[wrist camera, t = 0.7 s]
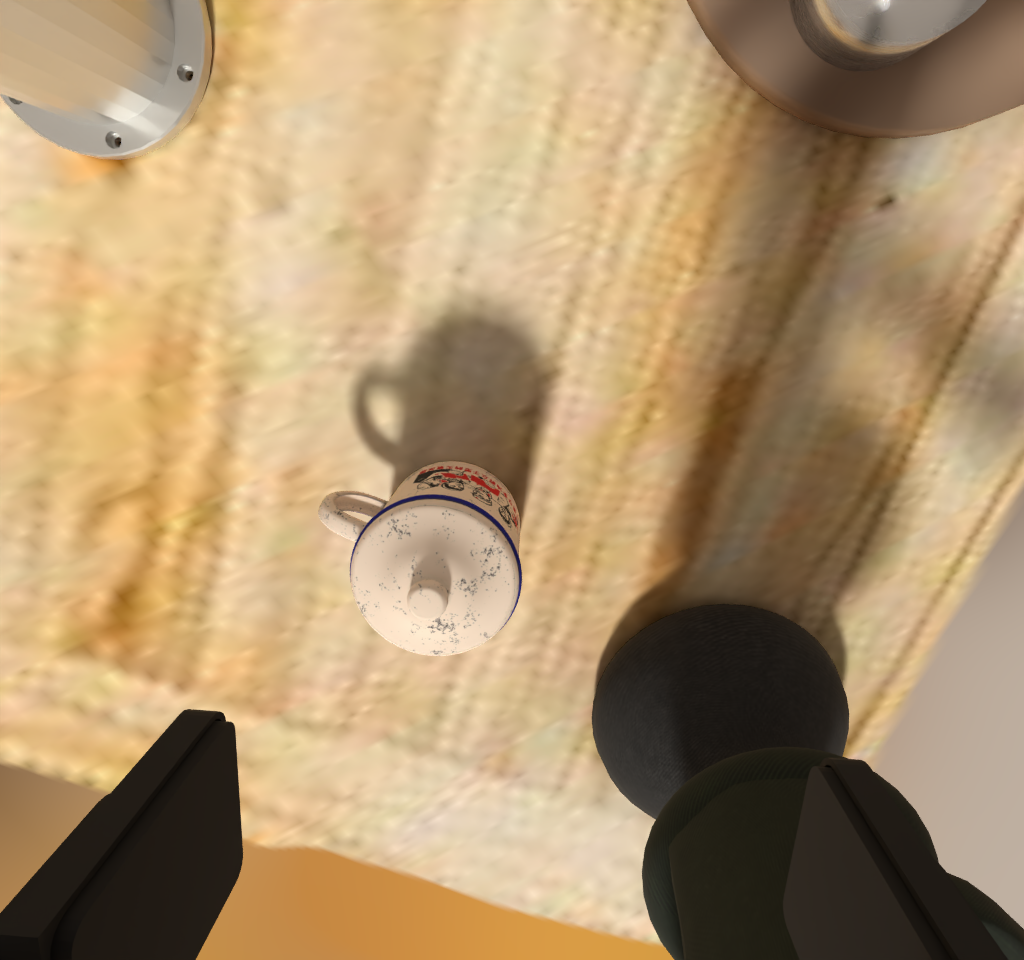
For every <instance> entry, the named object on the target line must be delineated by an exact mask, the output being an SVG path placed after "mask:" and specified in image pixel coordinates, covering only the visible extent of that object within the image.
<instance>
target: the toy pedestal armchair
mask: <svg viewBox="0 0 1024 960" xmlns="http://www.w3.org/2000/svg"><path fill="white" fill-rule="evenodd" d="M592 726H593V736H594V739H595V743H596V747H597V750H598V753H599V755H600V757H601V759H602V761H603V763H604V765H605V767H606V769H607V772H608V774H609V776H610V778H611V779H612V781H613V782H614V783H615V785H616V786H617V788H618V789H619V790H620V792H621V793H622V794H623V795H624V796H625V797H626V798H627V799H628V800H629V801H630V802H631V803H632V804H634V805H635V806H637V807H638V808H639V809H641V810H642V811H644V812H645V813H646V814H648V815H650V816H651V817H653V818H654V819H656V821H655V823H654V825H653V826H652V829H651V832H650V835H649V838H648V841H647V844H646V847H645V852H644V860H643V868H642V879H643V893H644V899H645V902H646V906H647V910H648V913H649V917H650V920H651V922H652V924H653V926H654V928H655V930H656V932H657V935H658V937H659V939H660V941H661V942H662V944H663V945H664V947H665V948H666V949H667V951H668V952H669V953H670V955H671V956H672V957H673V958H674V960H800V959H799V957H798V954H797V952H796V949H795V947H794V944H793V941H792V939H791V936H790V934H789V931H788V929H787V926H786V923H785V918H784V911H783V899H784V893H785V888H786V883H787V878H788V873H789V869H790V864H791V859H792V854H793V849H794V844H795V839H796V835H797V830H798V825H799V820H800V815H801V810H802V805H803V801H804V796H805V791H806V786H807V781H808V776H809V772H810V770H811V768H812V767H814V766H819V767H820V764H821V762H822V760H823V759H824V758H841V759H847V758H845V757H842V756H843V752H844V748H845V744H846V740H847V735H848V730H849V709H848V703H847V696H846V694H845V691H844V688H843V685H842V682H841V680H840V677H839V675H838V672H837V669H836V667H835V665H834V663H833V662H832V660H831V658H830V657H829V655H828V653H827V652H826V650H825V649H824V648H823V647H822V646H821V645H820V643H819V642H818V641H817V640H816V639H815V638H814V637H813V636H812V635H810V634H809V633H808V632H807V631H806V630H804V629H803V628H802V627H801V626H799V625H797V624H796V623H794V622H792V621H790V620H788V619H787V618H785V617H783V616H780V615H778V614H775V613H772V612H770V611H767V610H764V609H759V608H755V607H750V606H745V605H729V604H720V605H708V606H700V607H696V608H692V609H687V610H683V611H680V612H677V613H675V614H672V615H669V616H667V617H664V618H662V619H660V620H658V621H657V622H655V623H653V624H651V625H649V626H648V627H646V628H644V629H643V630H642V631H640V632H639V633H638V634H637V635H635V636H634V637H633V638H631V639H630V640H629V641H628V642H627V643H626V644H625V645H624V646H623V647H622V648H621V649H620V650H619V651H618V652H617V653H616V655H615V656H614V658H613V659H612V660H611V662H610V663H609V665H608V666H607V668H606V669H605V671H604V673H603V676H602V678H601V680H600V682H599V684H598V687H597V690H596V694H595V698H594V701H593V711H592ZM874 774H875V775H876V777H877V778H878V779H879V781H880V782H881V784H882V785H883V786H884V788H885V789H886V791H887V792H888V794H889V795H890V796H891V798H892V799H893V801H894V802H895V804H896V805H897V806H898V808H899V809H900V811H901V812H902V813H903V815H904V816H905V818H906V819H907V821H908V822H909V823H910V825H911V826H912V828H913V829H914V831H915V832H916V833H917V835H918V836H919V838H920V839H921V840H922V842H923V843H924V845H925V846H926V848H927V849H928V850H929V852H930V853H931V855H932V856H933V858H934V859H935V860H936V861H937V862H938V857H937V854H936V851H935V848H934V845H933V843H932V840H931V837H930V834H929V832H928V830H927V829H926V827H925V825H924V824H923V822H922V821H921V819H920V817H919V815H918V814H917V812H916V810H915V809H914V808H913V807H912V806H911V804H910V803H909V802H908V801H907V800H906V799H905V798H904V797H903V795H902V794H901V793H900V792H899V791H898V790H897V789H896V788H895V787H893V786H892V785H891V784H890V783H888V782H887V781H886V780H884V779H883V778H882V777H881V776H879V775H878V774H877V773H875V772H874ZM947 874H948V875H949V877H950V878H951V879H952V881H953V882H954V884H955V885H956V887H957V888H958V889H959V891H960V892H961V894H962V895H963V896H964V898H965V899H966V901H967V902H968V904H969V905H970V906H971V908H972V909H973V911H974V912H975V913H976V915H977V916H978V918H979V919H980V920H981V922H982V923H983V925H984V926H985V928H986V929H987V930H988V932H989V933H990V935H991V936H992V937H993V939H994V940H995V942H996V943H997V944H998V946H999V947H1000V949H1001V950H1002V952H1003V953H1004V954H1005V956H1006V957H1007V959H1008V960H1024V929H1023V928H1022V927H1021V926H1020V925H1019V924H1018V923H1016V921H1014V920H1013V919H1012V918H1011V917H1010V916H1009V915H1008V914H1007V913H1006V912H1005V911H1004V910H1003V909H1002V908H1001V907H1000V906H999V905H998V904H997V903H996V902H994V901H993V900H992V899H991V898H989V897H988V896H987V895H985V894H984V893H983V892H981V891H980V890H979V889H977V888H976V887H975V886H973V885H972V884H970V883H969V882H968V881H966V880H963V879H961V878H959V877H956V876H954V875H951V874H949V873H947Z"/></svg>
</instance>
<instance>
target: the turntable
mask: <svg viewBox="0 0 1024 960" xmlns="http://www.w3.org/2000/svg"><path fill="white" fill-rule="evenodd" d="M687 1H688V4H689V6H690V8H691V9H692V11H693V13H694V15H695V17H696V18H697V20H698V22H699V24H700V26H701V28H702V29H703V31H704V33H705V35H706V36H707V38H708V39H709V40H710V42H711V43H712V44H713V46H714V47H715V48H716V50H717V51H718V53H719V54H720V55H721V57H722V58H723V59H724V61H725V62H726V63H727V64H728V65H729V66H730V67H731V68H732V69H733V70H734V71H735V72H736V73H737V74H738V75H739V76H740V77H741V78H742V79H743V80H744V81H745V82H746V83H747V84H748V85H749V86H750V87H751V88H752V89H754V90H755V91H756V92H758V93H759V94H760V95H762V96H763V97H764V98H766V99H767V100H768V101H770V102H771V103H772V104H774V105H775V106H777V107H779V108H781V109H783V110H784V111H786V112H788V113H790V114H792V115H794V116H796V117H798V118H799V119H801V120H803V121H806V122H809V123H812V124H815V125H817V126H820V127H823V128H826V129H829V130H831V131H836V132H841V133H846V134H851V135H856V136H862V137H876V138H906V137H916V136H926V135H933V134H937V133H941V132H945V131H950V130H954V129H958V128H962V127H965V126H968V125H971V124H973V123H976V122H979V121H981V120H984V119H987V118H989V117H992V116H995V115H997V114H1000V113H1002V112H1005V111H1008V110H1010V109H1013V108H1015V107H1018V106H1020V105H1023V104H1024V0H986V2H985V3H984V4H983V5H982V6H981V7H980V8H979V9H978V10H977V11H976V12H975V13H974V14H972V15H971V16H970V17H969V18H968V19H966V20H965V21H964V22H962V23H961V24H959V25H958V26H956V27H955V28H953V29H951V30H950V31H948V32H947V33H945V34H943V35H942V36H940V37H939V38H937V39H936V40H934V41H932V42H931V43H929V44H928V45H926V46H925V47H923V48H921V49H920V50H918V51H917V52H915V53H913V54H912V55H910V56H909V57H907V58H906V59H904V60H902V61H900V62H898V63H896V64H894V65H891V66H889V67H886V68H883V69H878V70H873V71H850V70H846V69H842V68H838V67H836V66H834V65H831V64H829V63H827V62H826V61H824V60H823V59H821V58H820V57H819V56H817V55H816V54H815V53H814V52H813V51H812V50H811V49H810V48H809V47H808V46H807V44H806V43H805V42H804V40H803V39H802V37H801V35H800V34H799V32H798V29H797V27H796V25H795V23H794V19H793V16H792V13H791V8H790V2H789V0H687Z"/></svg>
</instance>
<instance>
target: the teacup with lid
mask: <svg viewBox="0 0 1024 960" xmlns="http://www.w3.org/2000/svg"><path fill="white" fill-rule="evenodd" d="M343 511H353V512H358V513H362V514H365V515H368V516H371V517H373V518H372V519H371V520H370V521H369V522H368V523H366V522H364V521H362V520H359V519H357V518H354V517H352V516H350V515H348V514H346V513H345V512H343ZM318 514H319V518H320V520H321V521H322V523H323V524H324V525H325V526H326V527H327V528H329V529H330V530H331V531H333V532H335V533H336V534H338V535H340V536H342V537H344V538H347V539H349V540H351V541H354V542H356V543H355V546H354V549H353V552H352V556H351V563H350V579H351V586H352V591H353V595H354V598H355V601H356V603H357V606H358V608H359V610H360V611H361V613H362V615H363V616H364V618H365V619H366V621H367V622H368V623H369V624H370V626H371V627H372V628H373V629H374V630H375V631H376V632H377V633H378V634H380V635H381V636H382V637H383V638H385V639H386V640H388V641H389V642H391V643H392V644H394V645H396V646H398V647H400V648H402V649H405V650H407V651H410V652H414V653H417V654H422V655H430V656H447V655H454V654H459V653H463V652H466V651H469V650H471V649H474V648H476V647H478V646H480V645H482V644H483V643H485V642H487V641H488V640H489V639H491V638H492V637H493V636H494V635H495V634H496V633H497V632H499V631H500V630H501V629H502V627H503V626H504V625H505V624H506V623H507V621H508V620H509V618H510V617H511V615H512V613H513V612H514V610H515V607H516V605H517V603H518V599H519V596H520V591H521V584H522V571H521V564H520V559H519V542H520V517H519V512H518V509H517V506H516V503H515V501H514V499H513V497H512V495H511V493H510V492H509V490H508V489H507V488H506V486H505V485H504V484H503V483H502V482H501V481H500V480H499V479H498V478H497V477H495V476H494V475H493V474H491V473H490V472H488V471H486V470H485V469H483V468H481V467H478V466H476V465H473V464H469V463H465V462H458V461H445V462H438V463H434V464H430V465H427V466H425V467H423V468H421V469H419V470H417V471H415V472H414V473H412V474H411V475H410V476H409V477H407V478H406V479H405V480H404V481H403V482H402V483H401V485H400V486H399V487H398V488H397V490H396V491H395V493H394V494H393V495H392V497H391V498H390V500H389V501H385V500H382V499H380V498H377V497H375V496H372V495H369V494H365V493H361V492H355V491H339V492H334V493H331V494H329V495H327V496H326V497H325V498H324V499H323V501H322V503H321V505H320V508H319V512H318Z"/></svg>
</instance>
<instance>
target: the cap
mask: <svg viewBox="0 0 1024 960" xmlns="http://www.w3.org/2000/svg"><path fill="white" fill-rule="evenodd" d="M789 2H790V8H791V13H792V16H793V19H794V23H795V25H796V27H797V29H798V32H799V34H800V35H801V37H802V39H803V40H804V42H805V43H806V44H807V46H808V47H809V48H810V49H811V50H812V51H813V52H814V53H815V54H816V55H817V56H819V57H820V58H821V59H823V60H824V61H826V62H827V63H829V64H831V65H834V66H836V67H838V68H842V69H846V70H850V71H873V70H878V69H883V68H886V67H889V66H891V65H894V64H896V63H898V62H900V61H902V60H904V59H906V58H907V57H909V56H910V55H912V54H913V53H915V52H917V51H918V50H920V49H921V48H923V47H925V46H926V45H928V44H929V43H931V42H932V41H934V40H936V39H937V38H939V37H940V36H942V35H943V34H945V33H947V32H948V31H950V30H951V29H953V28H955V27H956V26H958V25H959V24H961V23H962V22H964V21H965V20H966V19H968V18H969V17H970V16H971V15H972V14H974V13H975V12H976V11H977V10H978V9H979V8H980V7H981V6H982V5H983V4H984V3H985V2H986V0H789Z"/></svg>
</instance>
